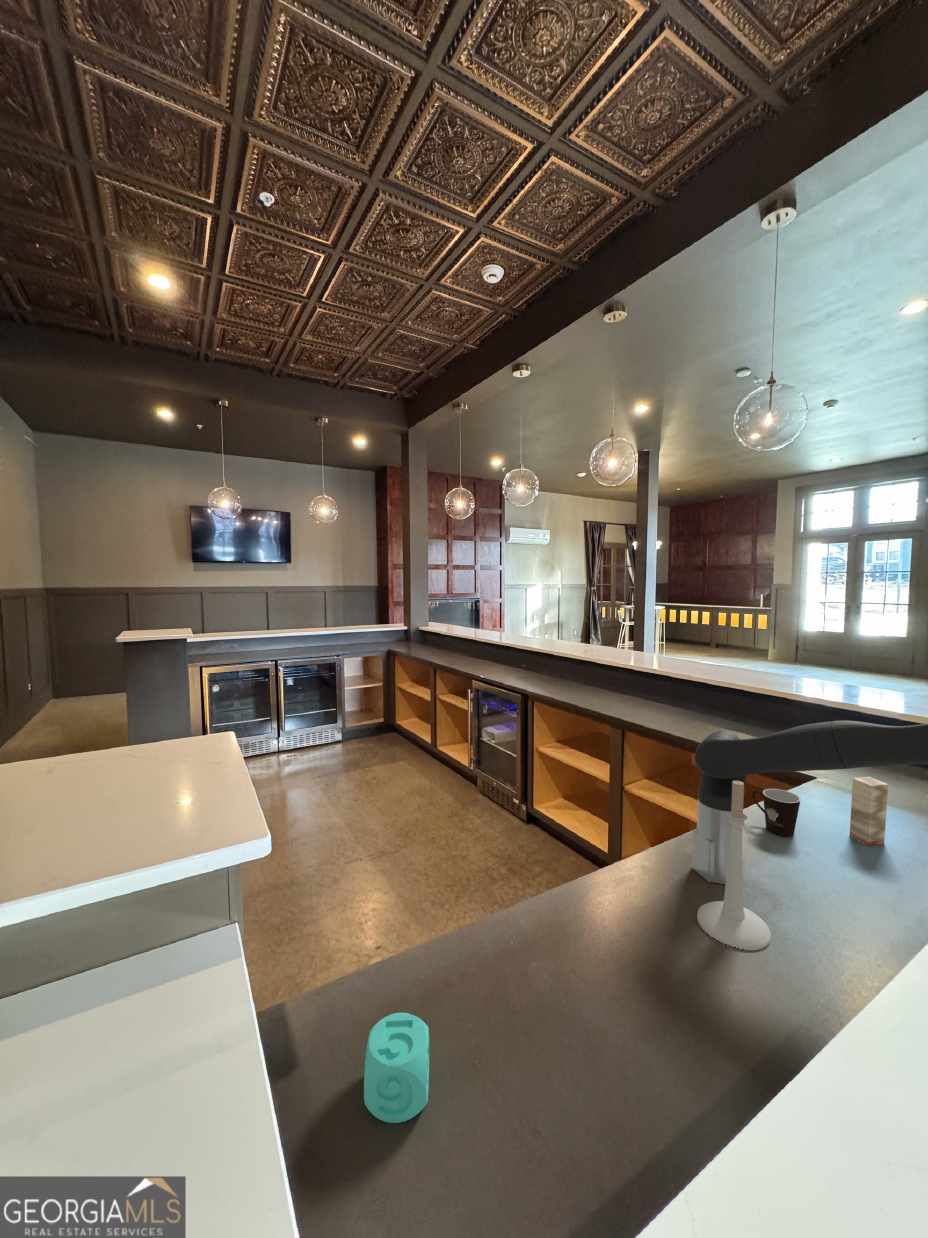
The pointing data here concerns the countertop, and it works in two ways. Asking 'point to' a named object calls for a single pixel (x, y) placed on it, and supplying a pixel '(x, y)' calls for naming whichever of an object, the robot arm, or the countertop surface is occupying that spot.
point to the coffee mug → (779, 811)
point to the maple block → (868, 810)
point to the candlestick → (734, 893)
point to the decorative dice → (397, 1068)
